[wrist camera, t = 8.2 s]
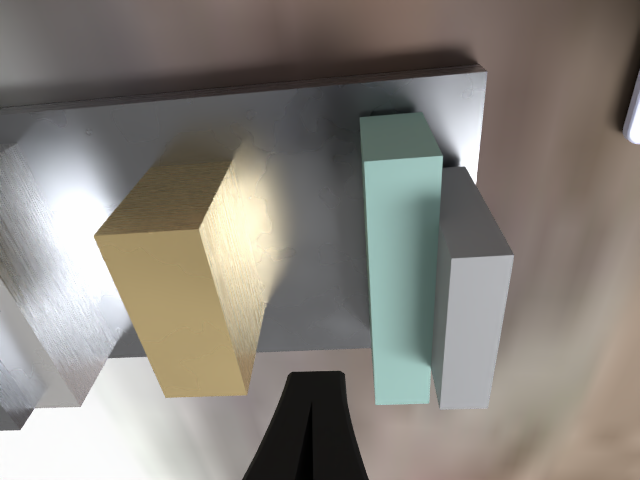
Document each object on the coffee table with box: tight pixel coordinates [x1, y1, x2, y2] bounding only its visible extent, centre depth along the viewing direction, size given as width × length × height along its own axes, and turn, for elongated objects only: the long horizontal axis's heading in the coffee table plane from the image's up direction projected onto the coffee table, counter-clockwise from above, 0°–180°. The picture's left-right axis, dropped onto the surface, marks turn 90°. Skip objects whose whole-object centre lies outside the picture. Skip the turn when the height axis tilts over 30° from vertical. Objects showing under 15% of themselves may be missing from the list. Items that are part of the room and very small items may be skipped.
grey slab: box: [0, 64, 487, 431], centre depth 17 cm, size 20×12×6 cm, turn 96°
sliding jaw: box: [360, 112, 514, 409], centre depth 15 cm, size 4×10×5 cm, turn 5°
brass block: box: [93, 161, 265, 398], centre depth 16 cm, size 3×7×4 cm, turn 6°
